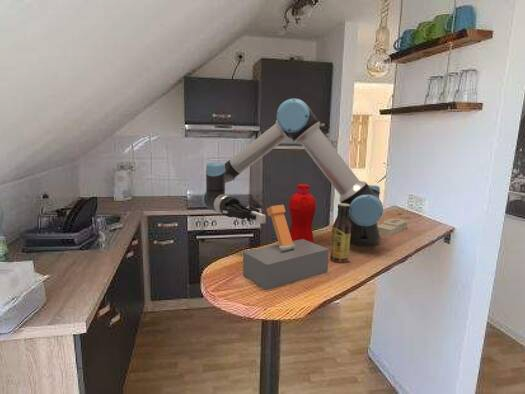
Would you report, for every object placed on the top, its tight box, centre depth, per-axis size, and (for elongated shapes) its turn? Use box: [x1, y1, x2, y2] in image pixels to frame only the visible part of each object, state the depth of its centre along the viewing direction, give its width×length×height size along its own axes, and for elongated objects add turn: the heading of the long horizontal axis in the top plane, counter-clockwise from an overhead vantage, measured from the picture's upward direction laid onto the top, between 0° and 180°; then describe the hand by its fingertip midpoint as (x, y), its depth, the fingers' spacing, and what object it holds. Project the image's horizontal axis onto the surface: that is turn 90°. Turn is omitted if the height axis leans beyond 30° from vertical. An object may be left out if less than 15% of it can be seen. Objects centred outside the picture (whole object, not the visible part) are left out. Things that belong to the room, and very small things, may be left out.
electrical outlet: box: [377, 217, 408, 237], centre depth 159 cm, size 7×4×18 cm
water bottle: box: [288, 183, 317, 244], centre depth 126 cm, size 9×11×25 cm
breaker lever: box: [266, 204, 295, 252], centre depth 108 cm, size 5×3×14 cm, turn 126°
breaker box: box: [242, 239, 330, 291], centre depth 107 cm, size 24×12×8 cm, turn 126°
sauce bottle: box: [329, 202, 351, 263], centre depth 119 cm, size 6×6×20 cm
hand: (263, 219), depth 115 cm, fingers closed
